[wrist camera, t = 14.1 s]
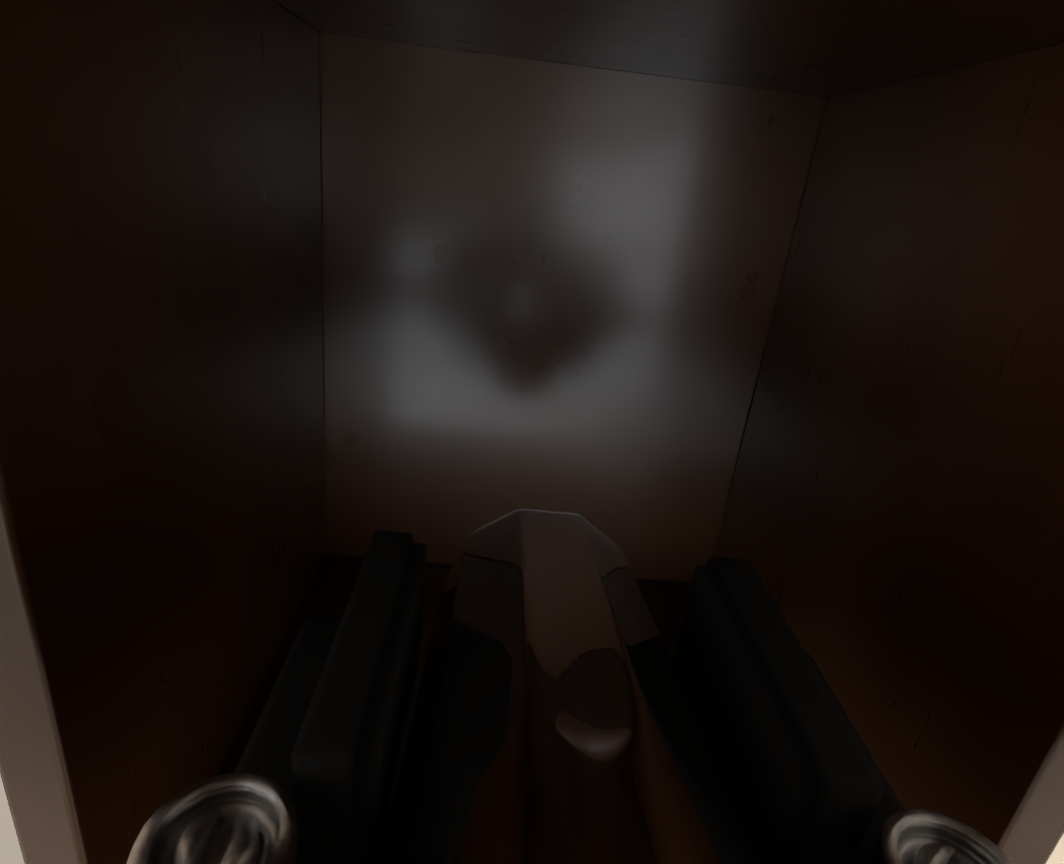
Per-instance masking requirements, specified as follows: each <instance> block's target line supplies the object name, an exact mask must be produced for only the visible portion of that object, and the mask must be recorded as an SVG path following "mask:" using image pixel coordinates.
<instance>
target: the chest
mask: <svg viewBox="0 0 1064 864" xmlns="http://www.w3.org/2000/svg"><path fill="white" fill-rule="evenodd" d="M519 508H523V509H534V510H545V511H557V512H569V513H578V514H580V515H581V516H582V517H583V518H584V519H586V520H587V521H588V522H589V523H590V524H592V525H593V526H594V527H595V528H596V529H598V530H599V531H600V532H601V533H603V534H604V535H605V536H606V537H607V538H609V539H610V540H611V541H612V542H614V543H615V544H616V545H617V546H618V547H619V548H620V549H621V551H622V553H623V555H624V557H625V559H626V561H627V564H628V566H629V568H630V570H631V572H632V574H633V577H634V579H635V581H636V583H637V585H638V587H639V589H640V592H641V594H642V596H643V598H644V600H645V602H646V605H647V607H648V609H649V611H650V613H651V615H652V618H653V620H654V622H655V624H656V626H657V628H658V631H659V633H660V635H661V637H662V639H663V641H664V644H665V646H666V648H667V650H668V652H669V654H670V657H671V659H672V661H673V657H674V653H675V649H676V645H677V640H678V636H679V632H680V628H681V624H682V620H683V615H684V611H685V607H686V603H687V599H688V595H689V590H690V586H691V582H692V578H693V574H694V571H695V568H696V567H697V566H698V565H706V563H707V561H708V560H709V558H711V557H712V556H713V557H726V558H739V559H747V560H749V561H750V562H751V563H752V564H753V566H754V568H755V569H756V571H757V573H758V574H759V576H760V578H761V579H762V581H763V583H764V584H765V586H766V588H767V589H768V591H769V593H770V594H771V596H772V598H773V599H774V601H775V603H776V604H777V606H778V608H779V609H780V611H781V613H782V614H783V616H784V618H785V619H786V621H787V623H788V624H789V626H790V628H791V630H792V631H793V633H794V635H795V636H796V638H797V640H798V641H799V643H800V645H801V646H802V648H803V650H804V651H806V652H808V653H809V655H810V656H811V657H812V658H813V660H814V661H815V663H816V664H817V666H818V667H819V669H820V671H821V672H822V674H823V676H824V677H825V679H826V681H827V682H828V684H829V686H830V687H831V689H832V691H833V692H834V694H835V696H836V697H837V699H838V701H839V702H840V704H841V705H842V707H843V709H844V710H845V712H846V714H847V715H848V717H849V719H850V720H851V722H852V724H853V725H854V727H855V729H856V730H857V732H858V734H859V735H860V737H861V738H862V740H863V742H864V743H865V745H866V747H867V748H868V750H869V752H870V753H871V755H872V757H873V758H874V760H875V762H876V763H877V765H878V767H879V768H880V770H881V772H882V773H883V775H884V776H885V778H886V780H887V781H888V783H889V785H890V786H891V788H892V790H893V791H894V793H895V795H896V796H897V798H898V800H899V801H900V803H901V805H902V806H903V808H904V809H909V808H915V809H926V810H932V811H935V812H938V813H941V814H944V815H947V816H950V817H953V818H955V819H957V820H958V821H960V822H962V823H964V824H966V825H968V826H970V827H971V828H973V829H975V830H977V831H978V832H979V833H981V834H982V835H983V836H985V837H986V838H987V839H988V840H990V841H991V842H992V843H994V844H995V845H996V846H998V847H999V848H1000V849H1001V850H1002V851H1003V852H1004V853H1005V854H1006V855H1007V856H1008V857H1009V858H1010V860H1011V861H1012V862H1013V863H1014V864H1045V863H1046V862H1047V860H1048V858H1049V857H1050V855H1051V853H1052V852H1053V850H1054V848H1055V847H1056V845H1057V843H1058V842H1059V840H1060V838H1061V837H1062V835H1063V833H1064V0H0V774H1V778H2V781H3V785H4V789H5V792H6V796H7V800H8V804H9V807H10V811H11V815H12V818H13V822H14V826H15V829H16V833H17V837H18V841H19V844H20V848H21V852H22V855H23V859H24V862H25V864H127V861H128V858H129V855H130V852H131V849H132V847H133V845H134V843H135V841H136V839H137V837H138V835H139V833H140V831H141V830H142V828H143V826H144V825H145V824H146V822H147V821H148V820H149V819H150V818H151V817H152V816H153V814H154V813H155V812H156V811H157V810H158V809H159V808H160V806H161V805H163V804H164V803H165V802H167V801H168V800H169V799H171V798H172V797H174V796H175V795H176V794H178V793H179V792H180V791H182V790H183V789H185V788H187V787H189V786H191V785H194V784H196V783H198V782H200V781H202V780H204V779H206V778H210V777H215V776H219V775H223V774H228V773H234V772H235V770H236V768H237V765H238V763H239V761H240V759H241V757H242V755H243V752H244V750H245V748H246V746H247V744H248V741H249V739H250V737H251V735H252V733H253V730H254V728H255V726H256V724H257V722H258V720H259V717H260V715H261V713H262V711H263V709H264V706H265V704H266V702H267V700H268V698H269V695H270V693H271V691H272V689H273V687H274V685H275V682H276V680H277V678H278V676H279V674H280V671H281V669H282V667H283V665H284V663H285V660H286V658H287V656H288V654H289V652H290V650H291V647H292V645H293V643H294V641H295V639H296V636H297V634H298V632H299V630H300V628H301V625H302V624H303V622H304V620H305V619H306V617H308V616H309V615H317V616H332V617H343V614H344V612H345V609H346V606H347V604H348V601H349V598H350V596H351V593H352V590H353V588H354V585H355V582H356V580H357V577H358V574H359V572H360V569H361V566H362V564H363V561H364V558H365V556H366V553H367V550H368V548H369V545H370V542H371V540H372V537H373V534H374V532H375V531H376V530H381V531H394V532H407V533H413V543H424V544H426V558H425V576H424V595H423V613H422V632H421V650H420V669H419V685H418V690H419V686H420V682H421V677H422V673H423V669H424V665H425V661H426V656H427V652H428V648H429V644H430V639H431V635H432V631H433V627H434V622H435V618H436V614H437V610H438V606H439V601H440V597H441V593H442V589H443V585H444V582H445V579H446V577H447V576H448V574H449V572H450V570H451V568H452V566H453V564H454V562H455V560H456V558H457V556H458V554H459V552H460V550H461V548H462V546H463V544H464V542H465V540H466V538H467V536H468V534H470V533H472V532H474V531H476V530H478V529H480V528H482V527H484V526H486V525H488V524H490V523H492V522H494V521H496V520H498V519H500V518H502V517H503V516H505V515H507V514H509V513H511V512H513V511H515V510H517V509H519Z"/></svg>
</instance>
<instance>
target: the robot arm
mask: <svg viewBox="0 0 1064 864" xmlns="http://www.w3.org/2000/svg"><path fill="white" fill-rule="evenodd" d="M425 558H426V544H424V543H413V533H407V532H394V531H381V530H376V531H375V532H374V534H373V537H372V540H371V542H370V545H369V548H368V550H367V553H366V556H365V558H364V561H363V564H362V566H361V569H360V572H359V574H358V577H357V580H356V582H355V585H354V588H353V590H352V593H351V596H350V598H349V601H348V604H347V606H346V609H345V612H344V614H343V617H332V616H317V615H309V616H308V617H306V619H305V620H304V622H303V624H302V625H301V628H300V630H299V632H298V634H297V636H296V639H295V641H294V643H293V645H292V647H291V650H290V652H289V654H288V656H287V658H286V660H285V663H284V665H283V667H282V669H281V671H280V674H279V676H278V678H277V680H276V682H275V685H274V687H273V689H272V691H271V693H270V695H269V698H268V700H267V702H266V704H265V706H264V709H263V711H262V713H261V715H260V717H259V720H258V722H257V724H256V726H255V728H254V730H253V733H252V735H251V737H250V739H249V741H248V744H247V746H246V748H245V750H244V752H243V755H242V757H241V759H240V761H239V763H238V765H237V768H236V770H235V772H234V773H228V774H223V775H219V776H215V777H210V778H206V779H204V780H202V781H200V782H198V783H196V784H194V785H191V786H189V787H187V788H185V789H183V790H182V791H180V792H179V793H178V794H176V795H175V796H174V797H172V798H171V799H169V800H168V801H167V802H165V803H164V804H163V805H161V806H160V808H159V809H158V810H157V811H156V812H155V813H154V814H153V816H152V817H151V818H150V819H149V820H148V821H147V822H146V824H145V825H144V826H143V828H142V830H141V831H140V833H139V835H138V837H137V839H136V841H135V843H134V845H133V847H132V849H131V852H130V855H129V858H128V861H127V864H377V863H378V859H379V855H380V851H381V847H382V843H383V839H384V835H385V831H386V826H387V822H388V818H389V814H390V809H391V805H392V801H393V797H394V792H395V788H396V784H397V779H398V775H399V771H400V767H401V762H402V758H403V754H404V750H405V745H406V741H407V737H408V733H409V728H410V724H411V720H412V716H413V711H414V707H415V703H416V699H417V694H418V685H419V669H420V650H421V632H422V613H423V595H424V576H425ZM673 663H674V665H675V667H676V670H677V672H678V674H679V676H680V678H681V680H682V683H683V685H684V687H685V689H686V691H687V693H688V696H689V698H690V700H691V702H692V704H693V706H694V709H695V711H696V713H697V715H698V717H699V719H700V722H701V724H702V726H703V728H704V730H705V733H706V735H707V737H708V739H709V741H710V743H711V746H712V748H713V750H714V752H715V754H716V757H717V759H718V761H719V763H720V765H721V768H722V770H723V772H724V774H725V776H726V779H727V781H728V783H729V785H730V787H731V789H732V792H733V794H734V796H735V798H736V800H737V802H738V805H739V807H740V809H741V811H742V813H743V815H744V817H745V819H746V821H747V823H748V825H749V827H750V829H751V832H752V834H753V836H754V838H755V840H756V842H757V844H758V846H759V848H760V850H761V852H762V854H763V856H764V858H765V860H766V862H767V864H1014V863H1013V862H1012V861H1011V860H1010V858H1009V857H1008V856H1007V855H1006V854H1005V853H1004V852H1003V851H1002V850H1001V849H1000V848H999V847H998V846H996V845H995V844H994V843H992V842H991V841H990V840H988V839H987V838H986V837H985V836H983V835H982V834H981V833H979V832H978V831H977V830H975V829H973V828H971V827H970V826H968V825H966V824H964V823H962V822H960V821H958V820H957V819H955V818H953V817H950V816H947V815H944V814H941V813H938V812H935V811H932V810H926V809H915V808H909V809H904V808H903V806H902V805H901V803H900V801H899V800H898V798H897V796H896V795H895V793H894V791H893V790H892V788H891V786H890V785H889V783H888V781H887V780H886V778H885V776H884V775H883V773H882V772H881V770H880V768H879V767H878V765H877V763H876V762H875V760H874V758H873V757H872V755H871V753H870V752H869V750H868V748H867V747H866V745H865V743H864V742H863V740H862V738H861V737H860V735H859V734H858V732H857V730H856V729H855V727H854V725H853V724H852V722H851V720H850V719H849V717H848V715H847V714H846V712H845V710H844V709H843V707H842V705H841V704H840V702H839V701H838V699H837V697H836V696H835V694H834V692H833V691H832V689H831V687H830V686H829V684H828V682H827V681H826V679H825V677H824V676H823V674H822V672H821V671H820V669H819V667H818V666H817V664H816V663H815V661H814V660H813V658H812V657H811V656H810V655H809V653H808V652H806V651H804V650H803V648H802V646H801V645H800V643H799V641H798V640H797V638H796V636H795V635H794V633H793V631H792V630H791V628H790V626H789V624H788V623H787V621H786V619H785V618H784V616H783V614H782V613H781V611H780V609H779V608H778V606H777V604H776V603H775V601H774V599H773V598H772V596H771V594H770V593H769V591H768V589H767V588H766V586H765V584H764V583H763V581H762V579H761V578H760V576H759V574H758V573H757V571H756V569H755V568H754V566H753V564H752V563H751V562H750V561H749V560H747V559H739V558H726V557H713V556H712V557H711V558H709V560H708V561H707V563H706V565H698V566H697V567H696V568H695V571H694V574H693V578H692V582H691V586H690V590H689V595H688V599H687V603H686V607H685V611H684V615H683V620H682V624H681V628H680V632H679V636H678V640H677V645H676V649H675V653H674V657H673Z"/></svg>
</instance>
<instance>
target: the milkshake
mask: <svg viewBox="0 0 1064 864" xmlns="http://www.w3.org/2000/svg"><path fill="white" fill-rule="evenodd" d="M377 864H767V862H766V860H765V858H764V856H763V854H762V852H761V850H760V848H759V846H758V844H757V842H756V840H755V838H754V836H753V834H752V832H751V829H750V827H749V825H748V823H747V821H746V819H745V817H744V815H743V813H742V811H741V809H740V807H739V805H738V802H737V800H736V798H735V796H734V794H733V792H732V789H731V787H730V785H729V783H728V781H727V779H726V776H725V774H724V772H723V770H722V768H721V765H720V763H719V761H718V759H717V757H716V754H715V752H714V750H713V748H712V746H711V743H710V741H709V739H708V737H707V735H706V733H705V730H704V728H703V726H702V724H701V722H700V719H699V717H698V715H697V713H696V711H695V709H694V706H693V704H692V702H691V700H690V698H689V696H688V693H687V691H686V689H685V687H684V685H683V683H682V680H681V678H680V676H679V674H678V672H677V670H676V667H675V665H674V663H673V661H672V659H671V657H670V654H669V652H668V650H667V648H666V646H665V644H664V641H663V639H662V637H661V635H660V633H659V631H658V628H657V626H656V624H655V622H654V620H653V618H652V615H651V613H650V611H649V609H648V607H647V605H646V602H645V600H644V598H643V596H642V594H641V592H640V589H639V587H638V585H637V583H636V581H635V579H634V577H633V574H632V572H631V570H630V568H629V566H628V564H627V561H626V559H625V557H624V555H623V553H622V551H621V549H620V548H619V547H618V546H617V545H616V544H615V543H614V542H612V541H611V540H610V539H609V538H607V537H606V536H605V535H604V534H603V533H601V532H600V531H599V530H598V529H596V528H595V527H594V526H593V525H592V524H590V523H589V522H588V521H587V520H586V519H584V518H583V517H582V516H581V515H580V514H578V513H569V512H557V511H545V510H534V509H523V508H519V509H517V510H515V511H513V512H511V513H509V514H507V515H505V516H503V517H502V518H500V519H498V520H496V521H494V522H492V523H490V524H488V525H486V526H484V527H482V528H480V529H478V530H476V531H474V532H472V533H470V534H468V536H467V538H466V540H465V542H464V544H463V546H462V548H461V550H460V552H459V554H458V556H457V558H456V560H455V562H454V564H453V566H452V568H451V570H450V572H449V574H448V576H447V577H446V579H445V582H444V585H443V589H442V593H441V597H440V601H439V606H438V610H437V614H436V618H435V622H434V627H433V631H432V635H431V639H430V644H429V648H428V652H427V656H426V661H425V665H424V669H423V673H422V677H421V682H420V686H419V690H418V694H417V699H416V703H415V707H414V711H413V716H412V720H411V724H410V728H409V733H408V737H407V741H406V745H405V750H404V754H403V758H402V762H401V767H400V771H399V775H398V779H397V784H396V788H395V792H394V797H393V801H392V805H391V809H390V814H389V818H388V822H387V826H386V831H385V835H384V839H383V843H382V847H381V851H380V855H379V859H378V863H377Z"/></svg>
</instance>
